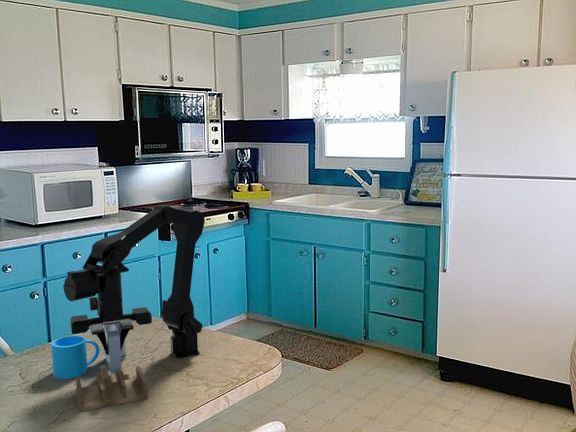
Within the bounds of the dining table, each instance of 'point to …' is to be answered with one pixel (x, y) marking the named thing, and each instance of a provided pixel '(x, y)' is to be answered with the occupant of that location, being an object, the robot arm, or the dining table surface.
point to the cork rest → (106, 376)
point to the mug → (71, 356)
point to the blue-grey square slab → (113, 348)
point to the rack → (111, 391)
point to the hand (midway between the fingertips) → (113, 353)
